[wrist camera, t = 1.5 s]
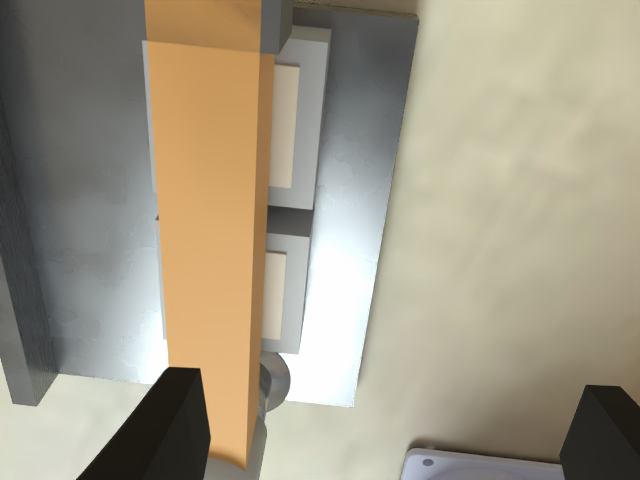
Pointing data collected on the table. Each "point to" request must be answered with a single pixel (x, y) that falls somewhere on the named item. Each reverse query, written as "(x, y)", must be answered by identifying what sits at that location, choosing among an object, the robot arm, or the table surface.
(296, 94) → the module
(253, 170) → the swing bar
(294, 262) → the block
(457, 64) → the table surface
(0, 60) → the tray
